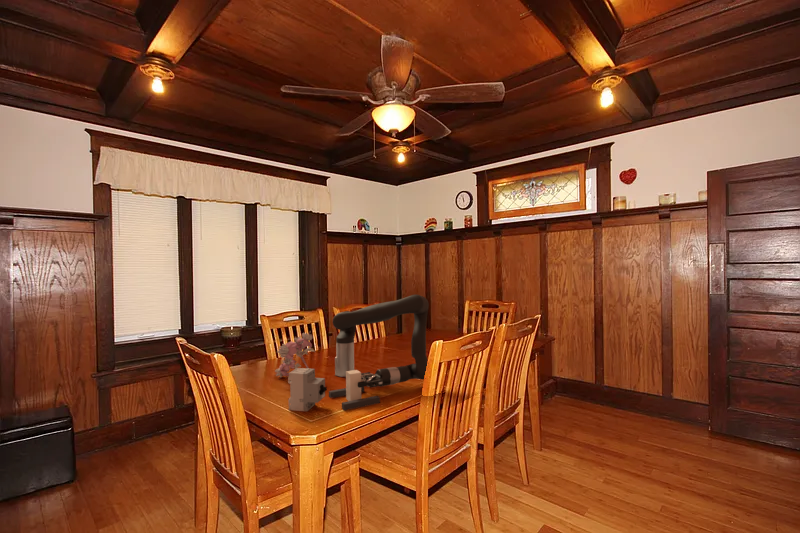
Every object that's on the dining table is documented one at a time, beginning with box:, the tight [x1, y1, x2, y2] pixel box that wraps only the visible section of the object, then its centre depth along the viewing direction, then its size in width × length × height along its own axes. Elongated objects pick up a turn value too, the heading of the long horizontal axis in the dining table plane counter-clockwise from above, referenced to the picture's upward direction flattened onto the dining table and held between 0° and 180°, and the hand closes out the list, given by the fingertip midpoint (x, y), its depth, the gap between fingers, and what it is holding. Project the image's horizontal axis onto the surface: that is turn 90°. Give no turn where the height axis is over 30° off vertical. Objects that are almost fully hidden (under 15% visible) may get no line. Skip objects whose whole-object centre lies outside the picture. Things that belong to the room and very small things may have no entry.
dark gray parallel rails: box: [328, 387, 381, 411], centre depth 166 cm, size 16×19×2 cm
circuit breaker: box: [287, 367, 328, 412], centre depth 158 cm, size 8×14×15 cm, turn 78°
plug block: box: [345, 369, 362, 402], centre depth 166 cm, size 5×5×12 cm
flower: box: [274, 330, 316, 378], centre depth 201 cm, size 20×22×25 cm
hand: (354, 382), depth 167 cm, fingers open, 8 cm apart
